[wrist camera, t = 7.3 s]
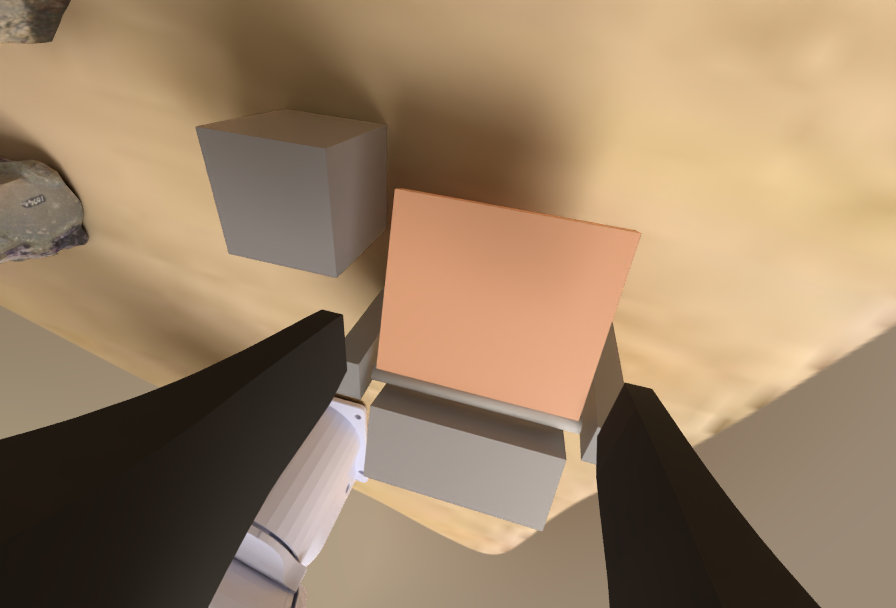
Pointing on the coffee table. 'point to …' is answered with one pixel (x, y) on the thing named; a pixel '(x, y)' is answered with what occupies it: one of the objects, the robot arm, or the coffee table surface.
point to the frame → (595, 410)
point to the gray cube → (298, 187)
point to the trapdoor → (488, 349)
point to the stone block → (30, 20)
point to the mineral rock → (36, 212)
